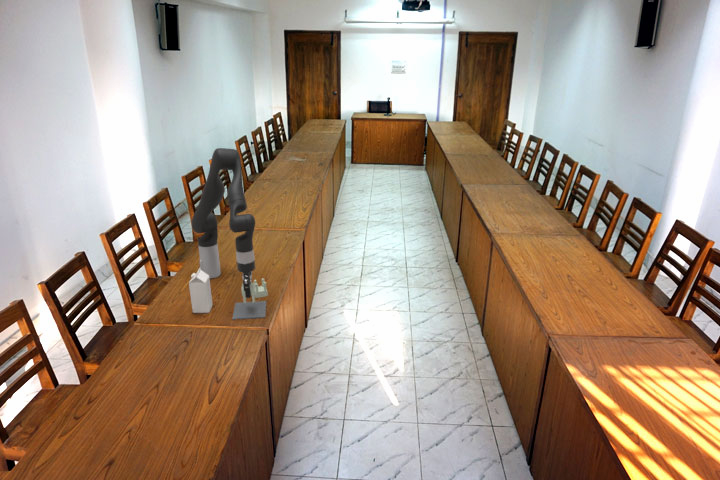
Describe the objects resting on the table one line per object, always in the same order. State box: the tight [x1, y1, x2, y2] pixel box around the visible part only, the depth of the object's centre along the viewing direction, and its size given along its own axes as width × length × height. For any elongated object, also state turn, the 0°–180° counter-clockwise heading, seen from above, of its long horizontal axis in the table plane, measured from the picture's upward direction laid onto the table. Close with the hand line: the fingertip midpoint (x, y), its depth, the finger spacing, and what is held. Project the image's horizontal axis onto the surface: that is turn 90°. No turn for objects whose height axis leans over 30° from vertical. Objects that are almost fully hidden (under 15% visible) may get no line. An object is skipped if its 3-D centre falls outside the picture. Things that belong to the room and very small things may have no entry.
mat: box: [232, 300, 267, 321], centre depth 226 cm, size 14×14×1 cm
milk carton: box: [188, 267, 213, 314], centre depth 224 cm, size 7×7×19 cm
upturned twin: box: [253, 278, 269, 299], centre depth 239 cm, size 6×6×7 cm
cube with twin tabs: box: [240, 282, 256, 303], centre depth 223 cm, size 6×6×7 cm
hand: (248, 294), depth 223 cm, fingers closed on cube with twin tabs, 5 cm apart
